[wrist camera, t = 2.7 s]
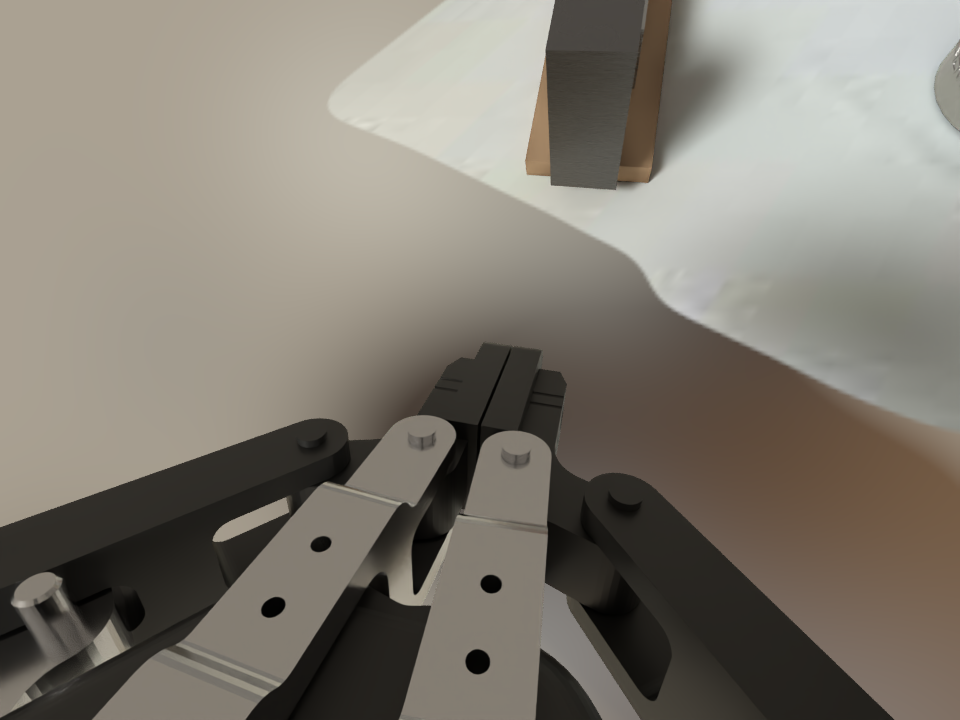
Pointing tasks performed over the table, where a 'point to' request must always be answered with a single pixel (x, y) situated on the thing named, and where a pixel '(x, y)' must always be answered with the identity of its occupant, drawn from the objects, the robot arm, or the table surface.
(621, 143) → the brushed grey metal block
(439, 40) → the table surface
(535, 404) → the robot arm
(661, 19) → the guide board
